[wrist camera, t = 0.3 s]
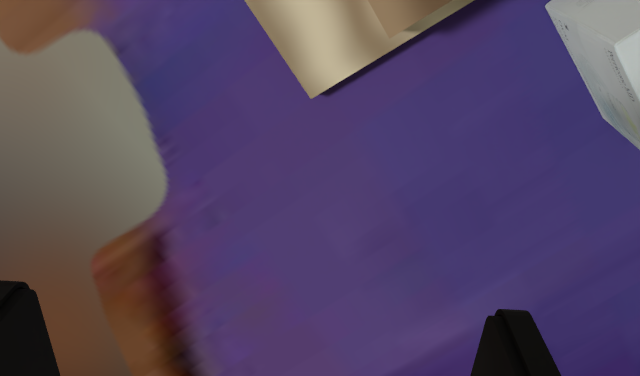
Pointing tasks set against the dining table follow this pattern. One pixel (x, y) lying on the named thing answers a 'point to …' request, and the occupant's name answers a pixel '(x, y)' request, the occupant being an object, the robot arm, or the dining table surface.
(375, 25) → the board
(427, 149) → the dining table surface
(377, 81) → the dining table surface
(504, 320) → the robot arm
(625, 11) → the skincare box
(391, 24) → the tan square slab
